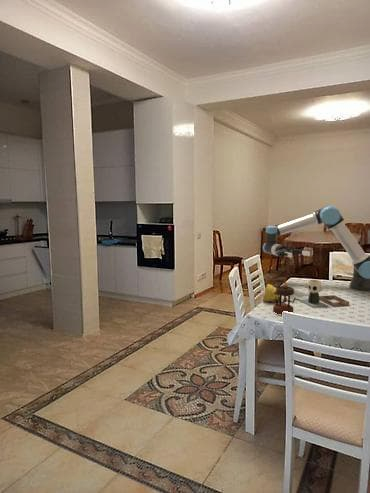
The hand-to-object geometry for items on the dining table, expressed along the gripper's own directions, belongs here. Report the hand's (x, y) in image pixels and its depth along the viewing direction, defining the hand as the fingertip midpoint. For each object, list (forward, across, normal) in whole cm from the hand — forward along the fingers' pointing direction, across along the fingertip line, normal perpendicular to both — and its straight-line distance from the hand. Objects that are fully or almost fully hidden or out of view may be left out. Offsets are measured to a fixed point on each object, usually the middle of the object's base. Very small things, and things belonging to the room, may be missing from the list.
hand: (300, 254), depth 215 cm
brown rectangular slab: (+16, -12, -27) cm, 34 cm away
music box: (+22, +28, -27) cm, 44 cm away
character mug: (+13, 0, -27) cm, 30 cm away
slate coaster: (+13, +1, -27) cm, 30 cm away
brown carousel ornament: (+5, +17, -24) cm, 30 cm away
